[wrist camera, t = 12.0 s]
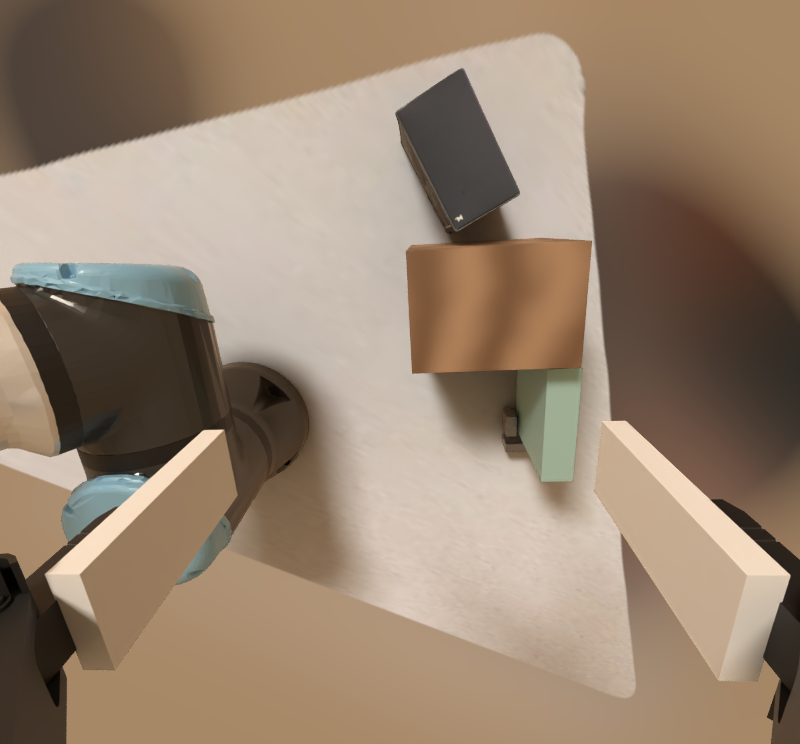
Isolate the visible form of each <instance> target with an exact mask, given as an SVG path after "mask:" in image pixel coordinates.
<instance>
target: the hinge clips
mask: <svg viewBox="0 0 800 744" xmlns="http://www.w3.org/2000/svg"><path fill="white" fill-rule="evenodd" d="M502 427H503V430H504V432H505V435H502V443H503V446H504V449H505V451H506V452H522V451H526V449H525V446H524V444H523V442H522V440H521V438H520V436H519V434H517V416H516V414H515V412H514V410H513V408H511V409H503V422H502Z"/></svg>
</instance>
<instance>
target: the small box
mask: <svg viewBox="0 0 800 744" xmlns="http://www.w3.org/2000/svg"><path fill="white" fill-rule="evenodd" d="M395 114H396V117H397V120H398V124H399V130H400V136H401V144H402V146H403V148H404V150H405V152H406V154H407V156H408V158H409V160H410V162H411V164H412V165H413V167H414V170H415V172H416V174H417V176H418V178H419V179H420V181H421V183H422V185H423V187H424V189H425V191H426V193H427V195H428V198H429V200H430V201H431V204H432V205H433V207H434V209H435V211H436V213H437V215H438V217H439V218H440V220H441V222H442V224H443V226H444V228H445V230H446V232H447V233H450V234H451V233H452V232H455V231H456V232H458V231H460V230H461V229H463V228H465V227H466V226H468V225H470V224H471V223H473V222H475V221H476V220H478V219H480V218H482V217H483V216H485V215H486V214H488V213H490V212H492V211H493V210H495V209H497V208H499V207H500V206H502V205H504V204H505V203H507V202H509V201H510V200H512V199H514V198H515V197H517V196H519V194H520V191H519V189H518V187H517V185H516V182H515V180H514V178H513V176H512V174H511V171H510V169H509V167H508V165H507V163H506V161H505V158H504V156H503V154H502V152H501V150H500V148H499V145H498V143H497V141H496V139H495V137H494V134H493V132H492V130H491V128H490V126H489V123H488V121H487V119H486V117H485V115H484V112H483V110H482V108H481V106H480V104H479V101H478V99H477V97H476V95H475V93H474V90H473V88H472V86H471V84H470V81H469V79H468V77H467V75H466V72H465V70H464V69H463V68H461V69H459V70H457V71H455V72H454V73H452V74H451V75H449V76H448V77H446V78H445V79H443V80H442V81H440V82H439V83H437V84H436V85H434V86H433V87H431V88H430V89H428V90H427V91H425V92H424V93H422V94H421V95H419V96H418V97H416V98H415V99H414V100H412V101H411V102H409V103H408V104H406V105H405V106H403V107H402V108H400V109H399V110H398V111H396V113H395Z"/></svg>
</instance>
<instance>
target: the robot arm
mask: <svg viewBox="0 0 800 744" xmlns="http://www.w3.org/2000/svg"><path fill="white" fill-rule="evenodd" d="M10 279H11V282H12V283H14V284H15V285H16V286H15V287H10V288H1V289H0V451H1V450H4V449H7V448H18V449H22V450H26V451H29V452H33V453H37V454H40V455H44V456H48V457H53V456H57V455H59V454H62V453H65V452H68V451H70V450H73V449H76V448H77V451H78V454H79V457H80V459H81V462H82V465H83V468H84V470H85V473H86V476H87V481H85V482H83V483H81V484H80V485H79V486H77V487H76V488H75V489H74V490H73V492H72V494H71V496H70V497H69V499H68V503H67V504H66V505H65V507H64V508H63V512H62V516H61V521H62V526H63V531H64V534H65V536H66V538H67V540H68V545H67V546H63V547H62V548H61V549H60V550H59V551H58V552H57V553H55V554H54V555H53V556H52V557H51V558H50V559H49V560H48V561H46V562H45V563H44V564H43V565H42V566H41V567H40V568H38V569H37V570H36V571H35V572H34V573H33V574H32V575H30V576H29V577H28V578H27V579H26V580H25V578H24V575H23V573H22V570H21V568H20V566H19V563H18V561H17V559H16V556H14V555H11V554H0V744H66V714H67V713H66V711H67V710H66V709H67V705H66V704H67V677H66V675H65V672H64V670H63V667H62V666H63V665H64V664H65V663H66V661H67V660H68V659H69V658H70V656H71V655H72V654H73V653H74V652H75V651H76V653H77V656H78V658H79V660H80V663H81V665H82V668H83V670H115V669H116V668H117V667H118V665H119V664H120V663H121V661H122V660H123V658H124V657H125V655H126V654H127V653H128V651H129V650H130V648H131V647H132V645H133V644H134V642H135V641H136V640H137V638H138V637H139V635H140V634H141V633H142V631H143V630H144V628H145V627H146V625H147V624H148V623H149V621H150V620H151V618H152V617H153V615H154V614H155V613H156V611H157V610H158V608H159V607H160V606H161V604H162V603H163V601H164V600H165V598H166V597H167V595H168V594H169V593H170V591H171V590H172V588H173V587H174V585H179V584H182V583H185V582H187V581H190V580H192V579H194V578H195V577H197V576H199V575H200V574H201V573H202V572H203V571H205V570H206V569H207V568H208V567H209V566H210V565H211V563H212V562H213V561H214V559H215V558H216V556H217V555H218V554H219V552H220V551H221V550H222V549H224V548H225V547H226V546H227V545H228V543H229V542H230V539H231V536H232V534H233V532H234V531H235V529H236V528H237V526H238V524H239V523H240V521H241V519H242V518H243V516H244V514H245V513H246V511H247V509H248V508H249V506H250V505H251V503H252V501H253V500H254V498H255V496H256V495H257V493H258V491H259V490H260V488H261V487H262V485H263V483H264V482H265V481H266V480H268V479H270V478H271V477H273V476H275V475H276V474H278V473H280V472H281V471H283V470H284V469H286V468H287V467H288V466H289V465H290V464H291V463H292V462H293V461H294V460H295V459H296V458H297V456H298V454H299V453H300V451H301V449H302V447H303V446H304V444H305V441H306V439H307V435H308V429H309V419H308V413H307V409H306V406H305V403H304V401H303V399H302V397H301V396H300V394H299V392H298V391H297V390H296V388H295V387H294V386H293V385H292V384H291V383H290V382H289V381H288V380H287V379H286V378H285V377H283V376H282V375H280V374H279V373H277V372H276V371H274V370H272V369H270V368H268V367H265V366H262V365H259V364H254V363H246V362H238V363H230V364H226V365H223V366H222V362H221V358H220V353H219V348H218V344H217V339H216V335H215V330H214V326H213V323H214V322H215V321H214V317H213V316H212V315H210V312H209V308H208V304H207V301H206V297H205V294H204V290H203V286H202V283H201V281H200V280H199V278H198V277H197V276H196V275H195V274H194V273H193V272H191V271H190V270H188V269H186V268H183V267H179V266H170V265H150V264H111V263H78V264H74V263H21V264H17V265H15V266H14V267H13V269H12V276H11V277H10ZM594 492H595V493H596V495H597V497H598V498H599V500H600V501H601V503H602V504H603V506H604V507H605V509H606V510H607V512H608V513H609V515H610V516H611V518H612V519H613V521H614V522H615V524H616V525H617V527H618V528H619V530H620V532H621V533H622V535H623V536H624V538H625V539H626V540H627V542H628V544H629V545H630V547H631V548H632V550H633V551H634V553H635V554H636V556H637V557H638V559H639V560H640V562H641V563H642V565H643V567H644V568H645V569H646V571H647V573H648V574H649V576H650V577H651V579H652V580H653V582H654V583H655V585H656V586H657V588H658V589H659V591H660V592H661V594H662V595H663V597H664V598H665V600H666V601H667V603H668V605H669V606H670V608H671V609H672V611H673V612H674V614H675V615H676V617H677V618H678V620H679V621H680V623H681V624H682V626H683V627H684V629H685V630H686V632H687V633H688V635H689V637H690V638H691V640H692V641H693V643H694V644H695V646H696V647H697V649H698V650H699V652H700V653H701V655H702V656H703V658H704V659H705V661H706V662H707V664H708V665H709V667H710V668H711V670H712V671H713V673H714V675H715V676H716V678H717V679H718V680H719V681H758V678H759V675H760V672H761V668H762V665H763V662H764V659H765V661H766V662H767V663H768V664H769V666H770V667H771V668H772V669H773V671H774V672H775V673H776V674H777V676H778V677H779V678H780V680H779V683H778V686H777V690H776V692H775V695H774V698H773V701H772V704H771V707H770V710H769V713H768V716H767V718H769V719H771V720H773V728H772V739H771V744H800V560H799V559H798V558H797V557H796V556H795V555H794V554H792V553H791V552H790V551H789V550H788V549H787V548H785V547H784V546H783V545H782V544H781V543H780V542H776V540H775V538H774V537H773V536H772V535H771V534H769V533H768V532H767V531H766V530H765V529H762V528H761V526H760V525H759V524H758V523H757V522H755V520H753V519H752V518H751V517H750V516H749V515H748V514H747V513H745V512H744V511H742V510H740V509H739V508H737V507H735V506H733V505H731V504H730V503H727V502H726V501H724V500H722V499H718V500H717V499H716V500H715V499H714V500H713V499H712V500H710V499H709V498H707V497H706V496H705V495H704V494H703V493H702V492H701V491H700V490H699V489H698V488H697V487H695V485H693V483H691V482H690V481H689V480H688V479H687V478H686V477H685V476H684V475H683V474H682V473H681V472H680V471H679V470H678V469H677V468H675V467H674V466H673V465H672V464H671V463H670V462H669V461H668V460H667V459H666V458H665V457H664V456H663V455H662V454H660V453H659V452H658V451H657V450H656V449H655V448H654V447H653V446H652V445H651V444H650V443H649V442H648V441H647V440H646V439H645V438H643V437H642V436H641V435H640V434H639V433H638V432H637V431H636V430H635V429H634V428H633V427H632V426H631V425H629V423H627V422H626V421H602V428H601V436H600V445H599V454H598V463H597V471H596V480H595V489H594Z"/></svg>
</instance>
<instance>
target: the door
mask: <svg viewBox="0 0 800 744" xmlns="http://www.w3.org/2000/svg"><path fill="white" fill-rule="evenodd" d="M582 370H583V368H582V367H578V368H550V369H523V370H517V394H516V416H517V432H518V434H519V436H520V438H521V440H522V442H523V444H524V446H525V449H526V451H527V453H528V455H529V457H530V459H531V461H532V463H533V466H534V468H535V470H536V472H537V474H538V476H539V478H540V480H541V482H559V481H573V474H574V462H575V450H576V439H577V427H578V416H579V404H580V393H581V381H582Z"/></svg>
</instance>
